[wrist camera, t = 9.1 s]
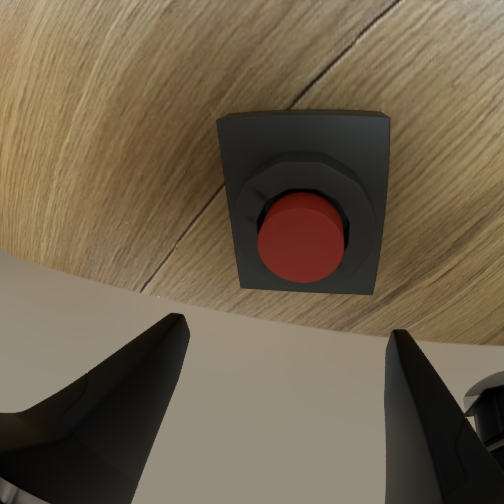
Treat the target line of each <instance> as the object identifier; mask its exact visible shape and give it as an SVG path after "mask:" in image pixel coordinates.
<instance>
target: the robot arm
mask: <svg viewBox="0 0 504 504" xmlns="http://www.w3.org/2000/svg"><path fill="white" fill-rule="evenodd" d="M189 339H190V331H189V328H188V325H187V322H186V319H185V317H184V315H183V314H179V313H170V314H169V315H167V316H165V317H164V318H163V319H161V320H160V321H158V322H157V323H156V324H154V325H153V326H151V327H150V328H149V329H147V330H146V331H145V332H143V333H142V334H140V335H139V336H137V337H136V338H135V339H133V340H132V341H131V342H129V343H128V344H126V345H125V346H124V347H122V348H121V349H119V350H118V351H117V352H115V353H114V354H112V355H111V356H110V357H108V358H107V359H105V360H104V361H103V362H101V363H100V364H98V365H97V366H96V367H94V368H93V369H91V370H90V371H89V372H88V373H86V374H85V375H83V376H82V377H80V378H79V379H77V380H76V381H74V382H73V383H71V384H70V385H68V386H67V387H65V388H64V389H62V390H60V391H59V392H57V393H56V394H54V395H52V396H50V397H49V398H47V399H45V400H43V401H42V402H40V403H38V404H36V405H35V406H33V407H31V408H29V409H27V410H25V411H22V412H17V413H0V504H131V502H132V499H133V497H134V494H135V491H136V488H137V486H138V482H139V480H140V477H141V475H142V472H143V470H144V467H145V464H146V462H147V459H148V456H149V453H150V451H151V448H152V446H153V443H154V440H155V438H156V435H157V433H158V430H159V428H160V425H161V423H162V420H163V417H164V415H165V412H166V410H167V407H168V405H169V402H170V400H171V397H172V394H173V392H174V390H175V386H176V384H177V382H178V379H179V375H180V372H181V369H182V365H183V361H184V358H185V354H186V350H187V347H188V343H189ZM385 360H386V361H385V365H386V366H385V391H384V408H385V428H386V496H385V504H504V386H498V387H492V388H487V389H485V390H484V391H483V392H482V393H481V394H480V396H479V397H478V398H477V399H476V400H475V402H474V403H473V404H472V405H471V406H470V408H469V409H468V410H467V411H466V412H465V414H464V413H463V411H462V410H461V408H460V407H459V405H458V404H457V402H456V400H455V399H454V397H453V396H452V394H451V393H450V391H449V390H448V388H447V387H446V385H445V384H444V382H443V381H442V379H441V378H440V376H439V375H438V373H437V372H436V371H435V369H434V368H433V366H432V365H431V363H430V362H429V360H428V359H427V358H426V356H425V355H424V353H423V352H422V351H421V349H420V348H419V346H418V345H417V343H416V342H415V341H414V339H413V338H412V337H411V335H410V334H409V333H408V331H407V330H405V329H394V330H393V331H392V332H391V335H390V338H389V341H388V345H387V348H386V357H385ZM471 416H474V419H475V425H476V432H475V430H474V429H473V427H472V426H471V424H470V422H469V421H468V419H467V418H465V417H471Z"/></svg>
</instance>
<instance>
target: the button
mask: <svg viewBox="0 0 504 504" xmlns="http://www.w3.org/2000/svg"><path fill="white" fill-rule="evenodd" d="M258 251H259V254H260V257H261V259H262V261H263V262H264V264H265V265H266V266H267V267H268V268H269V269H270V270H271V271H272V272H273V273H275V274H276V275H278V276H279V277H281V278H283V279H286V280H289V281H293V282H300V283H307V282H314V281H317V280H320V279H323V278H325V277H327V276H328V275H330V274H331V273H332V272H333V271H334V270H335V269H336V268H337V267H338V265H339V264H340V262H341V260H342V257H343V254H344V235H343V224H342V219H341V216H340V214H339V212H338V211H337V209H336V208H335V207H334V205H333V204H332V203H330V202H329V201H328V200H327V199H325V198H323V197H321V196H319V195H317V194H314V193H309V192H296V193H291V194H288V195H285V196H283V197H281V198H280V199H278V200H277V201H276V202H275V203H274V204H273V205H272V206H271V208H270V209H269V211H268V213H267V215H266V218H265V220H264V222H263V225H262V227H261V230H260V232H259V235H258Z"/></svg>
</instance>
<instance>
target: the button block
mask: <svg viewBox="0 0 504 504" xmlns="http://www.w3.org/2000/svg"><path fill="white" fill-rule="evenodd" d="M216 122H217V129H218V137H219V144H220V152H221V159H222V166H223V173H224V180H225V187H226V194H227V201H228V208H229V215H230V222H231V229H232V235H233V242H234V249H235V255H236V262H237V268H238V275H239V281H240V287H241V288H247V289H261V290H277V291H294V292H312V293H333V294H357V295H373V292H374V287H375V281H376V275H377V269H378V263H379V257H380V250H381V243H382V235H383V227H384V218H385V209H386V198H387V187H388V173H389V154H390V117H388V116H387V115H385V114H384V113H382V112H377V111H360V110H327V109H306V110H273V111H255V112H242V113H231V114H228V115H226V116H223V117H221V118H219V119H217V120H216ZM296 192H309V193H314V194H317V195H319V196H321V197H323V198H325V199H327V200H328V201H329V202H330V203H332V204H333V205H334V207H335V208H336V209H337V211H338V212H339V214H340V216H341V219H342V224H343V235H344V254H343V257H342V260H341V262H340V264H339V265H338V267H337V268H336V269H335V270H334V271H333V272H332V273H331V274H330V275H328V276H327V277H325V278H323V279H320V280H317V281H314V282H307V283H300V282H293V281H289V280H286V279H283V278H281V277H279V276H278V275H276V274H275V273H273V272H272V271H271V270H270V269H269V268H268V267H267V266H266V265H265V264H264V262H263V261H262V259H261V257H260V254H259V251H258V235H259V232H260V230H261V227H262V225H263V222H264V220H265V218H266V215H267V213H268V211H269V209H270V208H271V206H272V205H273V204H274V203H275V202H276V201H277V200H278V199H280V198H281V197H283V196H285V195H288V194H291V193H296Z"/></svg>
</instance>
